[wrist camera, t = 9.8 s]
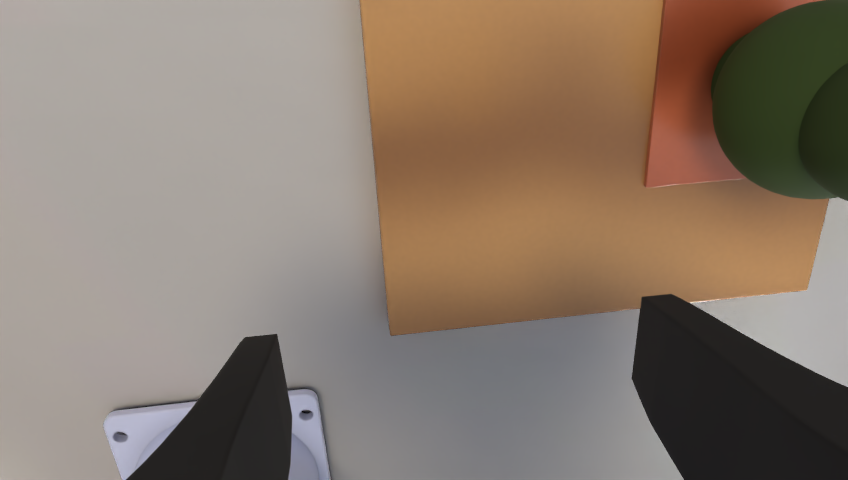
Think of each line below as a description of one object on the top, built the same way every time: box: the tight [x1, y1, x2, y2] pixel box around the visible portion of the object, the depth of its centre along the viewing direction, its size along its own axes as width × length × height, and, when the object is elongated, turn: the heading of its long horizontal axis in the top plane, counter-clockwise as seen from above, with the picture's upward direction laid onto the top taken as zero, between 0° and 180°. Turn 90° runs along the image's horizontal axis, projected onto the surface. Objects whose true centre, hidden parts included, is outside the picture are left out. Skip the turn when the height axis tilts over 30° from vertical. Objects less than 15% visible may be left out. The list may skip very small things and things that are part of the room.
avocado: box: [711, 0, 848, 201], centre depth 18 cm, size 5×5×7 cm
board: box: [359, 0, 829, 336], centre depth 22 cm, size 12×16×1 cm
